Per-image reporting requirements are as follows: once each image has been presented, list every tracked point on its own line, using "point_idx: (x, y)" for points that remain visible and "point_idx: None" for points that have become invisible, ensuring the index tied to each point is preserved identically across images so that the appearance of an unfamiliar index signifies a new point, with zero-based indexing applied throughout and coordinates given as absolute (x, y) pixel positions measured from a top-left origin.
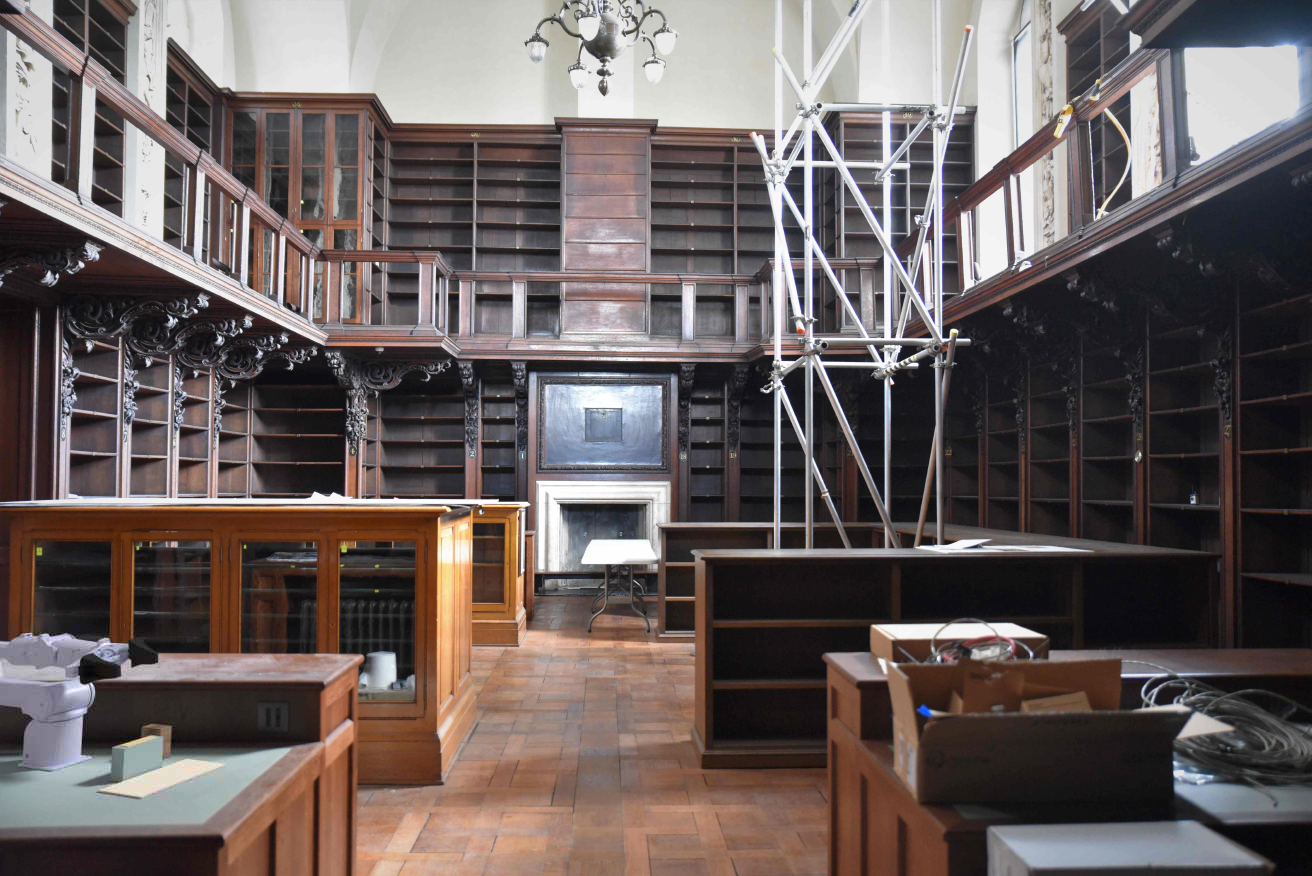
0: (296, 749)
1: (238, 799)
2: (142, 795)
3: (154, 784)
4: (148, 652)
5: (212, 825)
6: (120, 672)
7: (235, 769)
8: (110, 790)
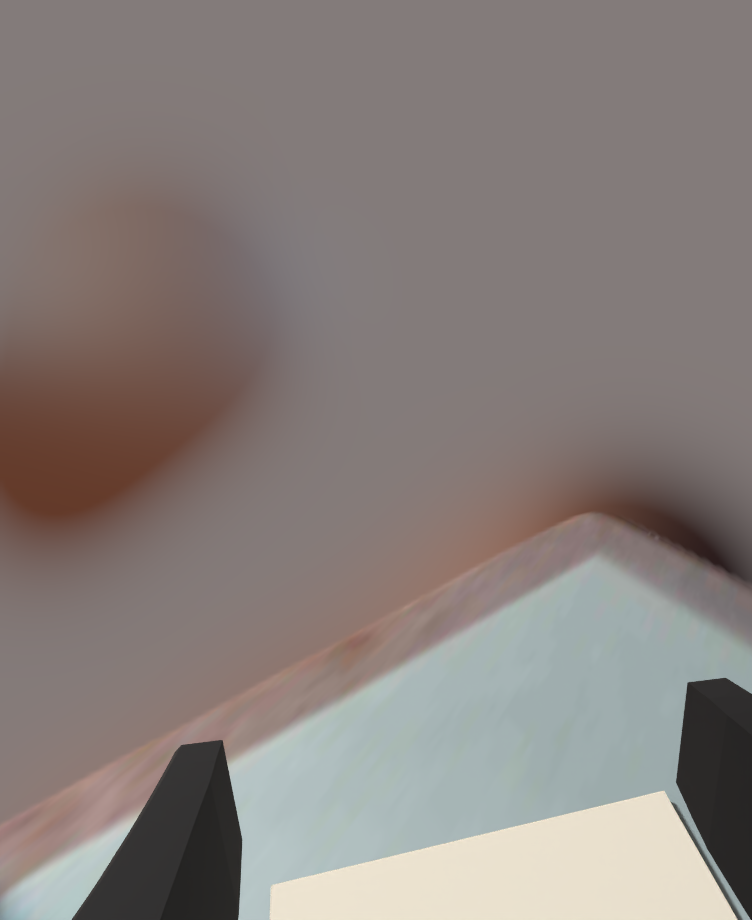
0: (29, 857)
1: (467, 613)
2: (655, 799)
3: (575, 886)
4: (201, 842)
5: (587, 539)
6: (686, 744)
7: (287, 831)
8: None
